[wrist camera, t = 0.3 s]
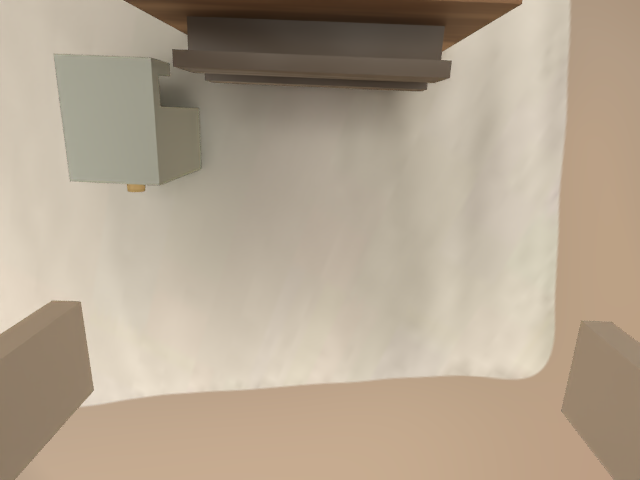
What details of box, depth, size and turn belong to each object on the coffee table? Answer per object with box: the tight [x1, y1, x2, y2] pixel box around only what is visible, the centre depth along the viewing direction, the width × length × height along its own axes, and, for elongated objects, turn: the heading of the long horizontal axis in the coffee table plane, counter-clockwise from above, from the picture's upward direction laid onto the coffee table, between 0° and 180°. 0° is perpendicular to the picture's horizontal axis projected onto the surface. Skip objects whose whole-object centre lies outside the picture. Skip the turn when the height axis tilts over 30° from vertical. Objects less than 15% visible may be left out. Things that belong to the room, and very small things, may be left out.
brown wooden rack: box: [124, 0, 522, 91], centre depth 25 cm, size 8×18×16 cm, turn 88°
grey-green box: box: [54, 54, 201, 192], centre depth 31 cm, size 9×6×9 cm
